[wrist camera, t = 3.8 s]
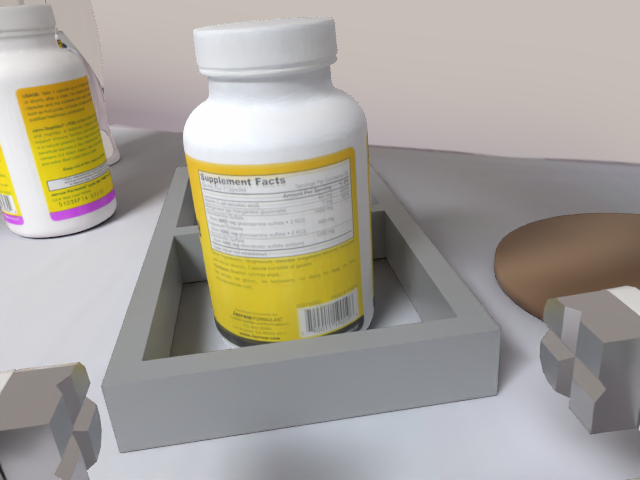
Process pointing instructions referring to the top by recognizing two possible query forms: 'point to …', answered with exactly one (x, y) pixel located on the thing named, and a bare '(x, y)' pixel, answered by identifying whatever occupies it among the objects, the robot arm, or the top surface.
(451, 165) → the top surface
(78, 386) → the robot arm
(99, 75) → the shiny silver flared piece
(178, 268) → the parts tray
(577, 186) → the top surface
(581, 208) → the top surface
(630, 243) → the walnut coaster
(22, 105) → the supplement bottle
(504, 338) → the top surface
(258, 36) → the pill bottle
